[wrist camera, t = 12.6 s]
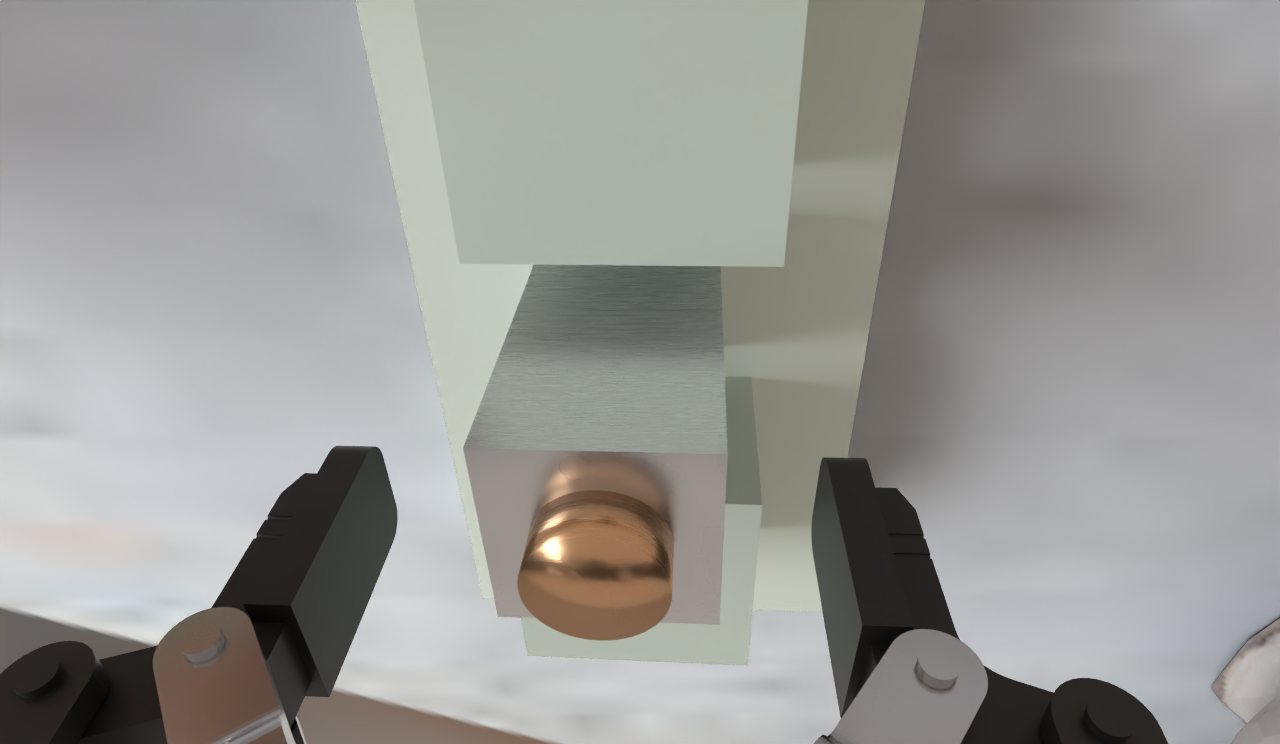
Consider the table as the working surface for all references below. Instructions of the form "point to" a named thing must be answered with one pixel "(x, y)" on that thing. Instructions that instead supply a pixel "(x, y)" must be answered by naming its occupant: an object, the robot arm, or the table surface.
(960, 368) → the table surface
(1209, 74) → the table surface
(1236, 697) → the ceramic pitcher
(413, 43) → the notch board
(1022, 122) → the table surface
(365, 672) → the table surface
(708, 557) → the box with copper knob
